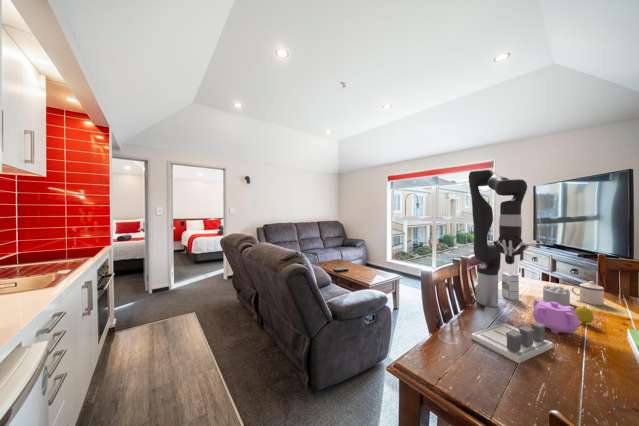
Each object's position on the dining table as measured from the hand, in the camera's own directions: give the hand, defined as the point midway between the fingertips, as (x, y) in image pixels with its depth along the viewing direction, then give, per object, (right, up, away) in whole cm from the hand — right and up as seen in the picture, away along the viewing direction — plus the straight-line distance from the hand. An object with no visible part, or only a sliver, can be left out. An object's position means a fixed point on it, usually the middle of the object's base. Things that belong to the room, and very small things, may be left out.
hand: (509, 263), depth 99 cm
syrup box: (+29, -28, +34) cm, 53 cm away
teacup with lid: (+68, -28, +28) cm, 79 cm away
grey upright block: (-15, -27, -19) cm, 36 cm away
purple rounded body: (+19, -29, -1) cm, 35 cm away
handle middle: (-7, -26, -16) cm, 32 cm away
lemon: (+37, -29, +3) cm, 47 cm away
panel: (-9, -29, -11) cm, 32 cm away
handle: (0, -26, -13) cm, 29 cm away
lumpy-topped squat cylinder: (+49, -28, +27) cm, 63 cm away
